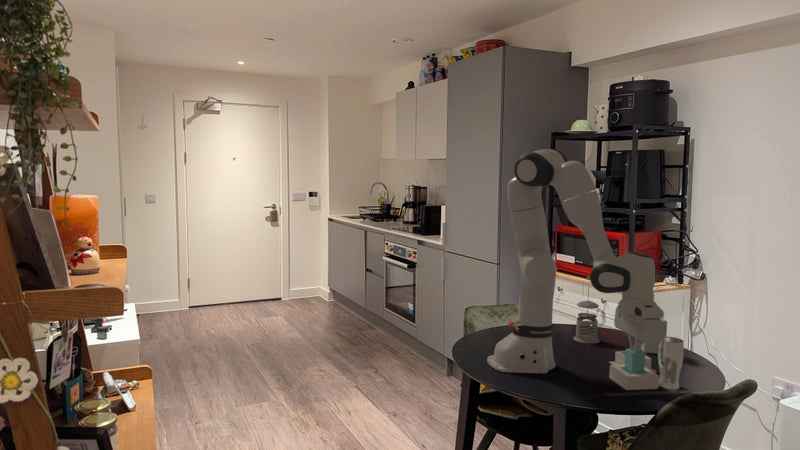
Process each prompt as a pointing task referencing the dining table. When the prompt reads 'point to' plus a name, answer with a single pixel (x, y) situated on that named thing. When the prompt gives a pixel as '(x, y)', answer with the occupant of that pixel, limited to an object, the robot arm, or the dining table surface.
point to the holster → (621, 360)
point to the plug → (634, 361)
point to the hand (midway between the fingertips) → (635, 350)
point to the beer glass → (670, 362)
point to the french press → (587, 322)
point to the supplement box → (654, 348)
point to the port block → (634, 379)
